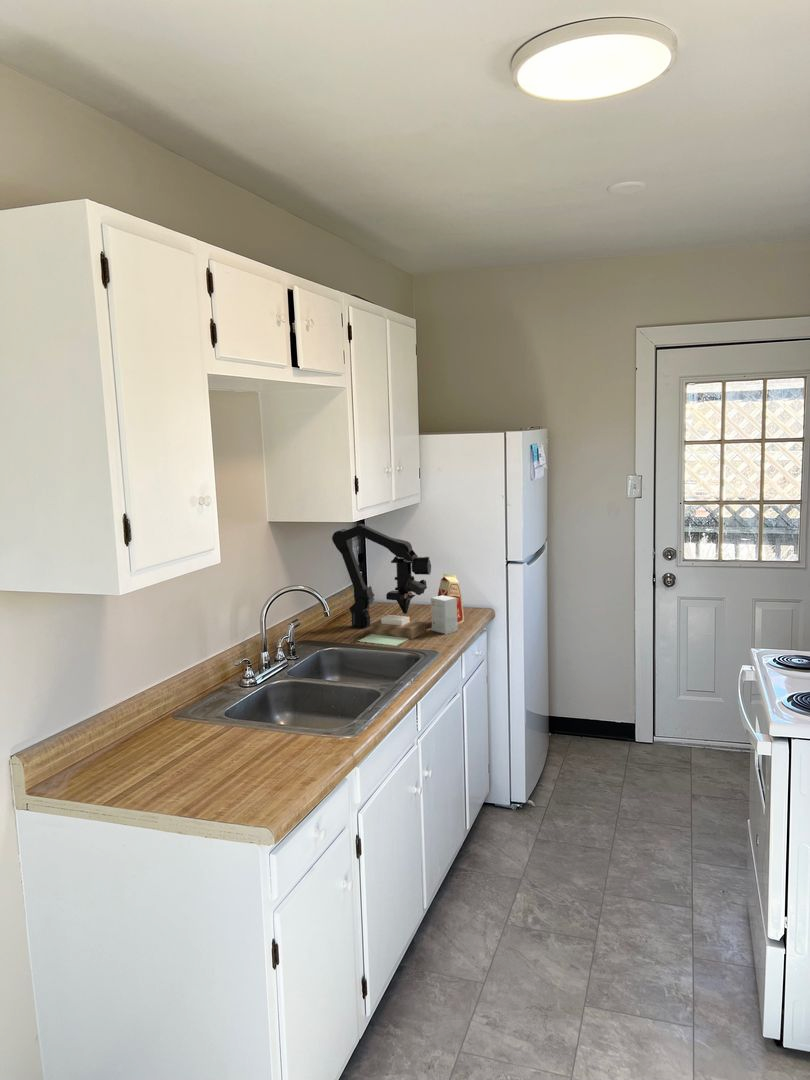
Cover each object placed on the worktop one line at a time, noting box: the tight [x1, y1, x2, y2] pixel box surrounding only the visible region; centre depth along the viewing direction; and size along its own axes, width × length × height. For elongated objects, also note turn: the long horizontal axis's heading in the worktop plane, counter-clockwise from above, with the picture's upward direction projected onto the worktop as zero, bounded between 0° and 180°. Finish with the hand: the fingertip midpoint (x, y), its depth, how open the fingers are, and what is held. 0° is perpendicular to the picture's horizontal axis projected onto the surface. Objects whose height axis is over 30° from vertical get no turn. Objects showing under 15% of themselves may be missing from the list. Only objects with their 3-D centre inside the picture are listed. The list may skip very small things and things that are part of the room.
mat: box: [358, 634, 410, 647], centre depth 296 cm, size 16×10×1 cm, turn 61°
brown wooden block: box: [369, 618, 425, 640], centre depth 305 cm, size 18×10×4 cm, turn 61°
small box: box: [430, 595, 458, 635], centre depth 306 cm, size 8×6×13 cm
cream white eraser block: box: [380, 614, 411, 626], centre depth 306 cm, size 9×6×2 cm, turn 61°
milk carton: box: [437, 573, 465, 625], centre depth 319 cm, size 9×9×20 cm
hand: (405, 613), depth 312 cm, fingers closed
